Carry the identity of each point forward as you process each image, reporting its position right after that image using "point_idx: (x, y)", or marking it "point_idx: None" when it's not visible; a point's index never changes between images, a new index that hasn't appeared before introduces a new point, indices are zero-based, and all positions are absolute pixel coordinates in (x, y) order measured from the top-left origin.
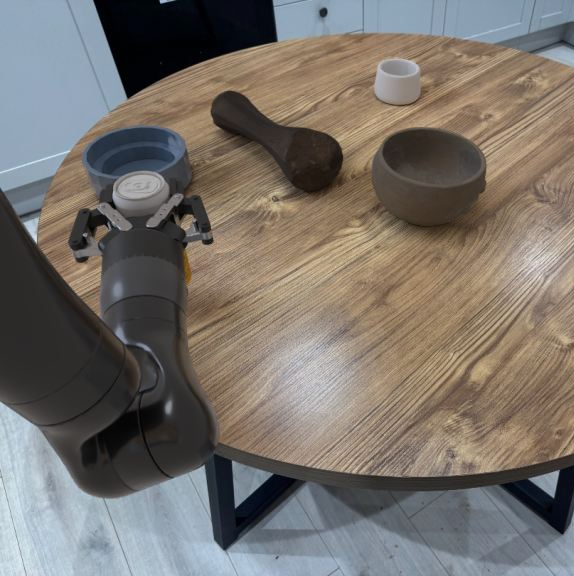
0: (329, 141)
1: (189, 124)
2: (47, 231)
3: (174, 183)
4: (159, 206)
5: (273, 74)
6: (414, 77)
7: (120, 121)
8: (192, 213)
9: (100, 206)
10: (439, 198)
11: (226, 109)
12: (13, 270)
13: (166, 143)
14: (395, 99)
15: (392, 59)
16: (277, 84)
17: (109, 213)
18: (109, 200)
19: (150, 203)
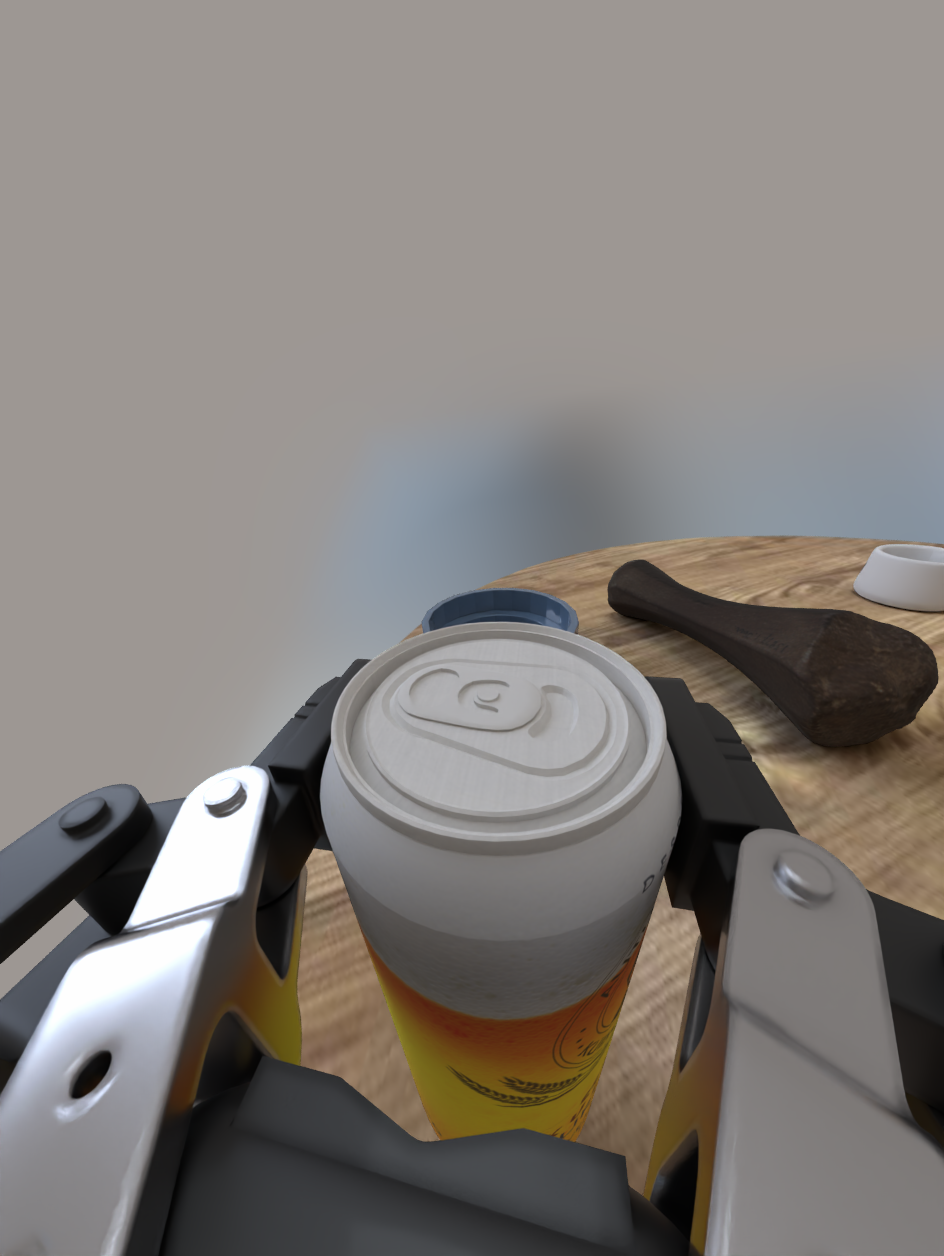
0: (918, 647)
1: (570, 602)
2: None
3: (696, 719)
4: (613, 922)
5: (674, 563)
6: None
7: None
8: (939, 1100)
9: (208, 799)
10: None
11: (637, 581)
12: None
13: (543, 616)
14: (918, 601)
15: (897, 545)
16: (683, 572)
17: (104, 980)
18: (301, 756)
19: (550, 898)
